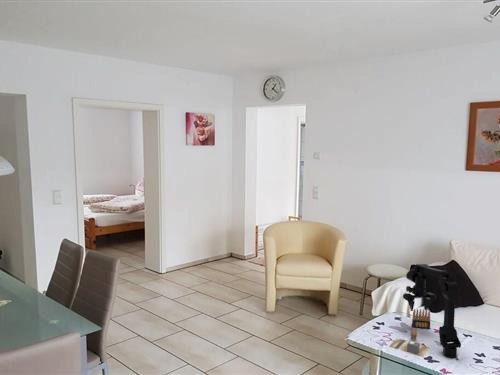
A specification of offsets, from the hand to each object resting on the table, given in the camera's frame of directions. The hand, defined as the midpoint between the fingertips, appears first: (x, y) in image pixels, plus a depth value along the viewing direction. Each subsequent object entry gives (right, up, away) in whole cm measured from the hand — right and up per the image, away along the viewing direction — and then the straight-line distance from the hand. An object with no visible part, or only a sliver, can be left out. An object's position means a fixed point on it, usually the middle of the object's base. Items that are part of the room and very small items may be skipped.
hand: (418, 310), depth 244 cm
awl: (-7, -15, -9) cm, 19 cm away
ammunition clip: (+6, -14, +11) cm, 19 cm away
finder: (-12, -15, -23) cm, 30 cm away
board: (-13, -16, -18) cm, 27 cm away
